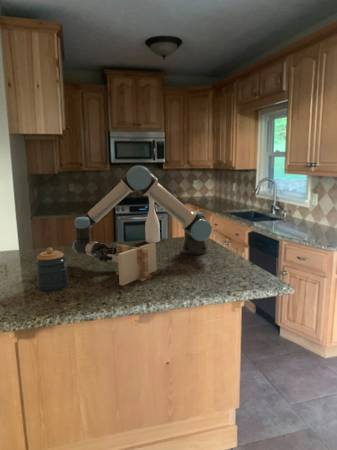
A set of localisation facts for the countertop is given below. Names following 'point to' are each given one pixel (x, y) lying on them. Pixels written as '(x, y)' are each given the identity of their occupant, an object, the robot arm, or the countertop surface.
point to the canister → (51, 271)
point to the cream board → (135, 263)
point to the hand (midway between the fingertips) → (128, 255)
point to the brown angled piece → (141, 258)
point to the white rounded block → (152, 225)
